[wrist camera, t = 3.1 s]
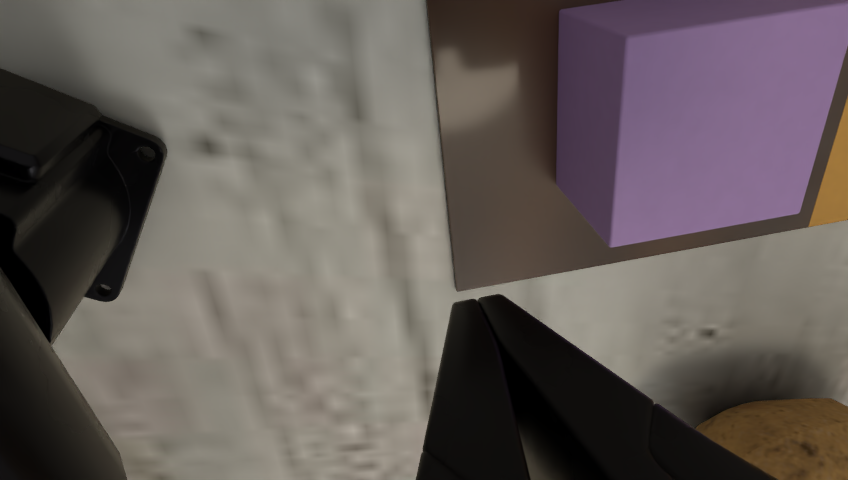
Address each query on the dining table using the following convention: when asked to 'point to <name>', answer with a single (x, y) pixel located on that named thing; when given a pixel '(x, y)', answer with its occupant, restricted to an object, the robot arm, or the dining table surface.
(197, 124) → the dining table surface
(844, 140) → the pad
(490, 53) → the board
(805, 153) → the block
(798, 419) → the potato
